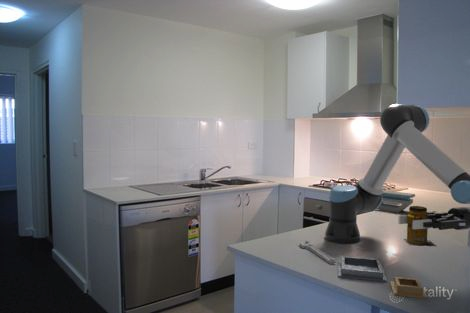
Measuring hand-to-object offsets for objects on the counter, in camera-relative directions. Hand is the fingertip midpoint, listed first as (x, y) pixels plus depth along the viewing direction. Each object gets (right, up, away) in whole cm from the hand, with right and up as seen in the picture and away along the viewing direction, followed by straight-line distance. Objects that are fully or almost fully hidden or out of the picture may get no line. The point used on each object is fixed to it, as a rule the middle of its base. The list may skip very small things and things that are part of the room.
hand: (406, 222), depth 123 cm
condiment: (+5, -7, +1) cm, 9 cm away
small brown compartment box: (-3, -20, -8) cm, 21 cm away
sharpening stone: (+38, -11, +105) cm, 112 cm away
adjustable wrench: (-24, -18, +27) cm, 40 cm away
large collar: (-12, -18, +8) cm, 23 cm away
